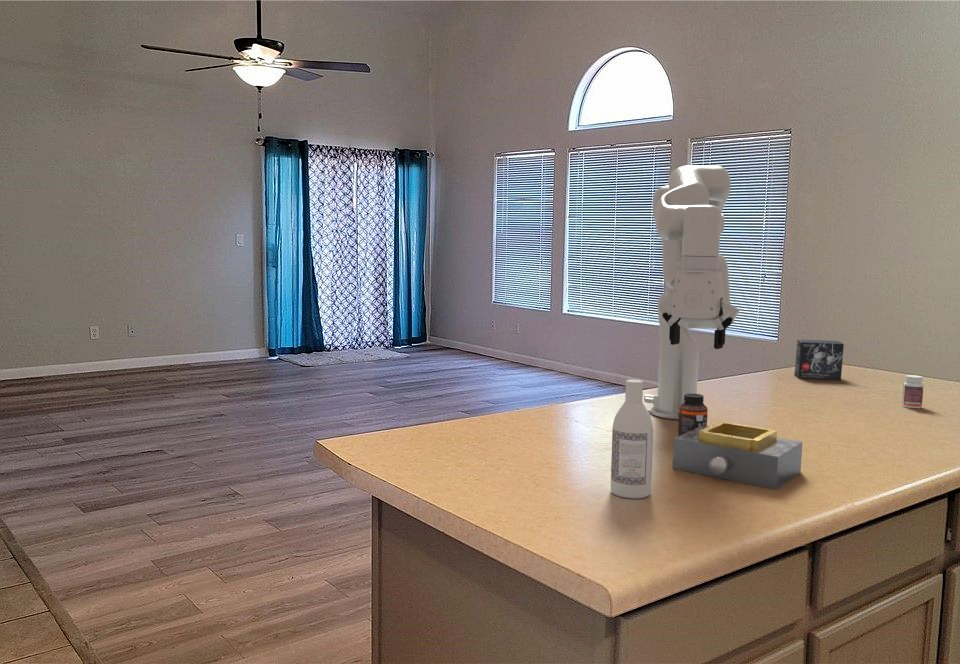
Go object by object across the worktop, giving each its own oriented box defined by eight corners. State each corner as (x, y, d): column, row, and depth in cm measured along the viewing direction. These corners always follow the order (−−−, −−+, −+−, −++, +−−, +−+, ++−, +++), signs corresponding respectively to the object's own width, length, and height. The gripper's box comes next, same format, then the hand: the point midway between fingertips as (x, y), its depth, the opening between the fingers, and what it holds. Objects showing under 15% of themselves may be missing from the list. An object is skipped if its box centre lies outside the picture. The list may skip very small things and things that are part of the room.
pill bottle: (925, 408, 215) (927, 377, 214) (907, 408, 215) (909, 377, 214) (916, 405, 220) (918, 374, 219) (898, 404, 220) (900, 374, 219)
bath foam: (623, 484, 146) (626, 375, 144) (657, 492, 142) (662, 380, 140) (602, 493, 141) (606, 380, 139) (638, 502, 137) (642, 386, 134)
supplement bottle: (706, 451, 170) (709, 398, 169) (677, 449, 171) (680, 396, 170) (704, 444, 176) (707, 392, 174) (676, 442, 177) (678, 391, 176)
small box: (798, 378, 259) (800, 341, 258) (793, 375, 266) (795, 339, 264) (841, 380, 257) (844, 343, 256) (836, 376, 264) (838, 340, 262)
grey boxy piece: (665, 471, 155) (667, 432, 154) (701, 453, 168) (703, 416, 167) (770, 493, 142) (773, 450, 141) (800, 472, 156) (803, 432, 155)
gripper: (653, 264, 171) (650, 344, 173) (733, 266, 161) (729, 352, 162) (669, 263, 177) (666, 341, 179) (747, 266, 166) (743, 348, 168)
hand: (696, 346), depth 171 cm, fingers open, 9 cm apart
